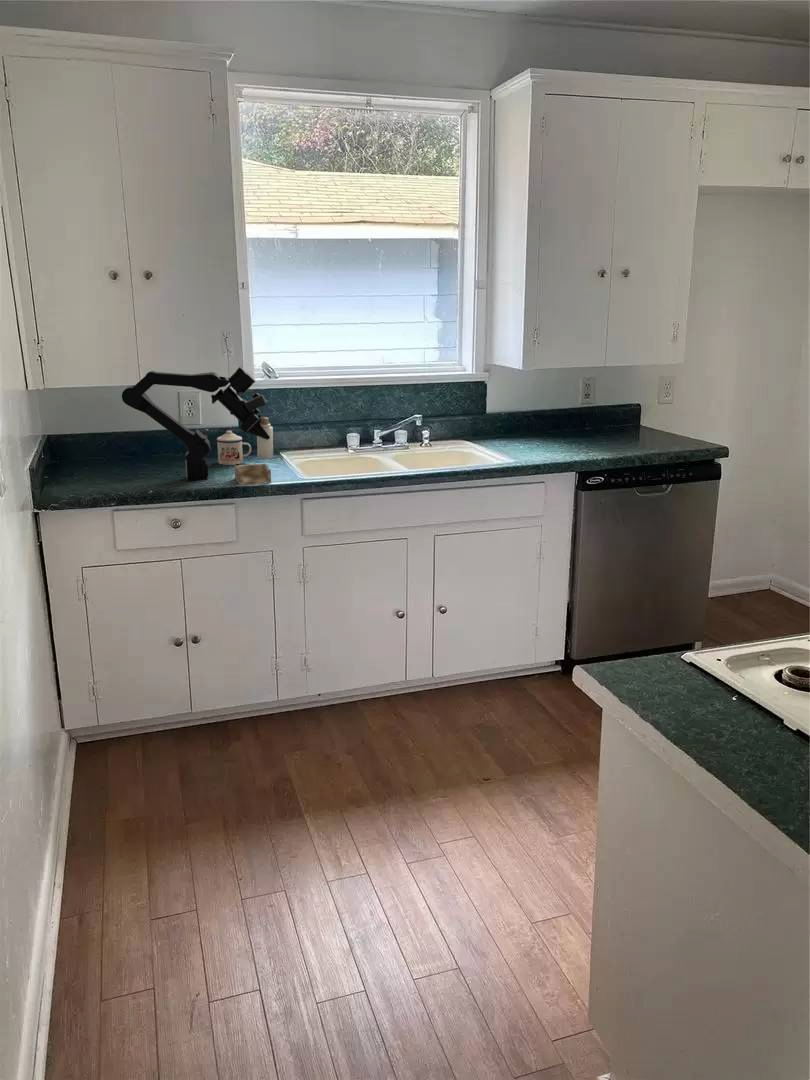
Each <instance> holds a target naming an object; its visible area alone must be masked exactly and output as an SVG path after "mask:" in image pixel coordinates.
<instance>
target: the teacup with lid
mask: <svg viewBox="0 0 810 1080" xmlns="http://www.w3.org/2000/svg"><path fill="white" fill-rule="evenodd" d="M216 442H217V443H216V444H217V458H218V459H217V461H218V464H219V465H221V464H223V465H222V466H237V465H236V464H239V465H241V464H243V463H244V457H247V456H249V455H250V454H251V452H252V446H251V444H250V443H248V442H243V437H242V436H240V435H237V434H235V433H233V431H232V430H226V433H224V434H222V435H221V436H218V437H217V438H216ZM244 445H245V446H248V452H247V453H244V454H243V446H244Z"/></svg>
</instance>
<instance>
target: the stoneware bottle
mask: <svg viewBox="0 0 810 1080" xmlns="http://www.w3.org/2000/svg"><path fill="white" fill-rule="evenodd" d="M260 420H261V423H260V424H261V426H262V427H263V429H264V430H265V431H266V433H267V434H268V435H269V437H270V438H269V439H268V440H267V439H264V438H262V437H259V436H257V435H256V446H257V448H256V451H257V452H256V453H257V458H258V459H272V458H274V428H273V427H274V426H272V425H271V423H270V421H269V420H270V419H269V417H267V416H263V417H262V416H261V418H260Z"/></svg>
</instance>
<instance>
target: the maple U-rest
mask: <svg viewBox="0 0 810 1080" xmlns="http://www.w3.org/2000/svg"><path fill="white" fill-rule="evenodd" d="M271 470H272V469H270V467H268V466H267V465H266V463H257V464H242V465H241V464H239V465H234V479H235V478H236V479H235V480H236V481H237V483H238V482H239V483H238V484H239V485H240V486H248V485H247V484H250V485H257V484H256V483H264V484H266V483H265V482H271V483H272V472H271Z"/></svg>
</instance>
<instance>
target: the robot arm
mask: <svg viewBox="0 0 810 1080" xmlns="http://www.w3.org/2000/svg"><path fill="white" fill-rule="evenodd" d="M255 383H256V379H255V378H254V377H253V376H252V375H251V374H250V373H249V372H247V371H246V370H245V369H244V368H242V366H239V367H238V368H237V369H236V370H235V372H234V373H233V374H232V375H231V376H230V377H227V376H220V375H219V374H218V373H217V372H212V371H211V372H210V371H209V372H201V373H195V374H194V373H192V374H189V373H187V374H186V373H177V372H176V373H173V372H163V371H161V372H160V371H159V372H158V371H155V370H150V371H148V372H147V373H145V376H144V377H143V378H141V379H139V381H138V382H137V383H136V384H135V385H129V386H127V387H126V388H125V389H124V390H123V391H122V393H121V401H122V402H123V403H124V404H125V405H127V406H129V407H131V409H134V410H137V411H140V412H142V413H144V414H146V415H147V416H149V417H150V418H151V419H153V421H156V423H157V424H159V425H161V426H162V427H163V428H164V429H166V430H167V431H168V432H169V433H171V434H172V435H174V436H175V437H177V438H178V439H180V441H181V442H182V443H183V444H184V445H185V447H186V448H187V449H188V450H187V451H186V453H185V456H184V458H185V473H186V475H185V478H186V480H187V481H198V480H209V479H208V477H209V464H208V463H207V460H206V458H204V457H206V456H207V455H208V454H209V452H210V449H211V442H210V440H209V439H208V435H206V434H203V433H202V432H201V431H200V430H199V429H198V428H197V429H196V430H195V431H194V430H193V431H192V430H191V429H188V428H187V427H186V426H184V425H183V424H182V423H180V422H179V421H177V419H176V418H174V417H172V416H171V415H170V414H169V413H167V412H166V411H164V410H163V409H162V408H160V407H159V406H158V405H156V404H155V403H154V402H153V401H152V400H151V398H150V397H149V395H147V394H146V392H147V391H148V390H149V389H151V387H153V385H154V386H155V385H157V386H158V385H160V386H171V387H172V386H173V387H185V388H188V387H189V388H193V389H197V390H199V391H203V392H208V393H215V394H211V395H210V397H211V404H213V405H214V404H215V403H216V402H217V401H218V402H219V403H220V404H221V405H222V406H223V407H224V408H226V409H227V411H229V414H230V415H231V416H234V417H235V418H236V419H237V420H238V422H239V424H240V429H241V431H242V432H244V433H249V434H252V435H254V436H256V437H257V436H259V437H262V438H264V439H267V440H268V439H269V438H270V437H269V435H268V434H267V433H266V431H265V430H264V429H263V427H262V426H261V424H260V423H261V420H260V418H261V417H262V416H261V415H262V414H261V410H260V409H259V408H260V407H264V406H266V405H267V401H266V398H265V396H264V394H262V393H261V394H259V393H258V392H255V393H253V394H252V398H250V399H248V400H247V399H245V398H241V397H240V395H238V394H241V393H242V394H245V393H246V392H247V391H248V390H249V389H250V388H251V387H252V386H253V385H254V384H255ZM225 387H226V388H225ZM223 388H224V389H223ZM237 393H238V394H237ZM257 414H258V415H257Z"/></svg>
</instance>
